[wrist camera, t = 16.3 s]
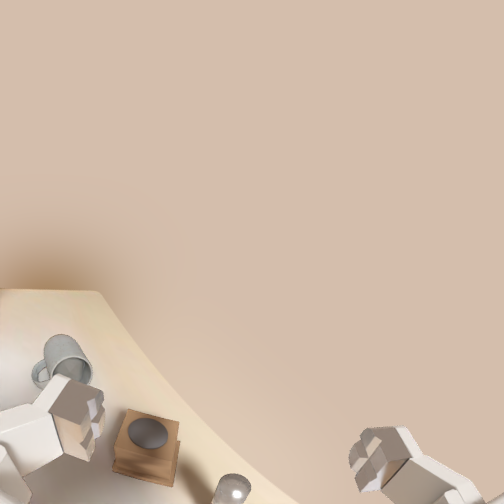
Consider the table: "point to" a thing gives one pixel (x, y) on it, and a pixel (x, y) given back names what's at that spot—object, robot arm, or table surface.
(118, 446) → the walnut stand
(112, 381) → the table surface
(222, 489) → the brushed metal cylinder
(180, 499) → the table surface
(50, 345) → the ceramic mug
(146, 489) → the table surface
